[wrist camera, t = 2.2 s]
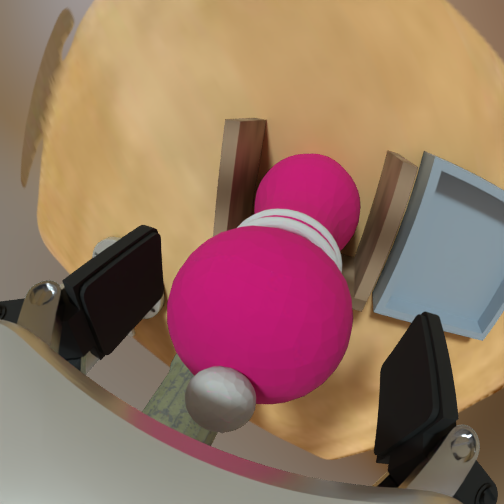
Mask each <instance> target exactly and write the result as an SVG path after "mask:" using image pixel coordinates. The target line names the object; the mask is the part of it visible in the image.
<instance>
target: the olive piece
mask: <svg viewBox="0 0 504 504" xmlns="http://www.w3.org/2000/svg"><path fill="white" fill-rule="evenodd" d="M193 377H194V375H193V374H192V373H191V371H190V370H189V369H188V368H187V367H186V366H185V364H184V363H183V362H182V361H181V359H180V358H179V356H178V354H177V353H176V355H175V357H174V359H173V361H172V363H171V366H170V370H169V373H168V375H167V376H166V378H165V379H164V381H163V382H162V383H161V385H160V386H159V388H158V389H157V391H156V392H155V394H154V395H153V397H152V398H151V400H150V401H149V403H148V404H147V405H146V407H145V408H144V410H143V411H142V413H144V414H146V415H148V416H149V417H151V418H153V419H155V420H157V421H158V422H160V423H162V424H164V425H166V426H168V427H170V428H172V429H174V430H176V431H178V432H180V433H182V434H184V435H186V436H189V437H191V438H193V439H195V440H197V441H200V442H202V443H204V444H207V445H209V446H211V444H212V443H213V440H214V439H215V437H216V435H217V433H218V432H214V431H209V430H206V429H204V428H202V427H200V426H199V425H198V424H197V423H196V422H195V421H193V419H192V418H191V416H190V415H189V413H188V411H187V408H186V406H185V392H186V388H187V386H188V383H189V382H190V380H191V379H192V378H193Z"/></svg>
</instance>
